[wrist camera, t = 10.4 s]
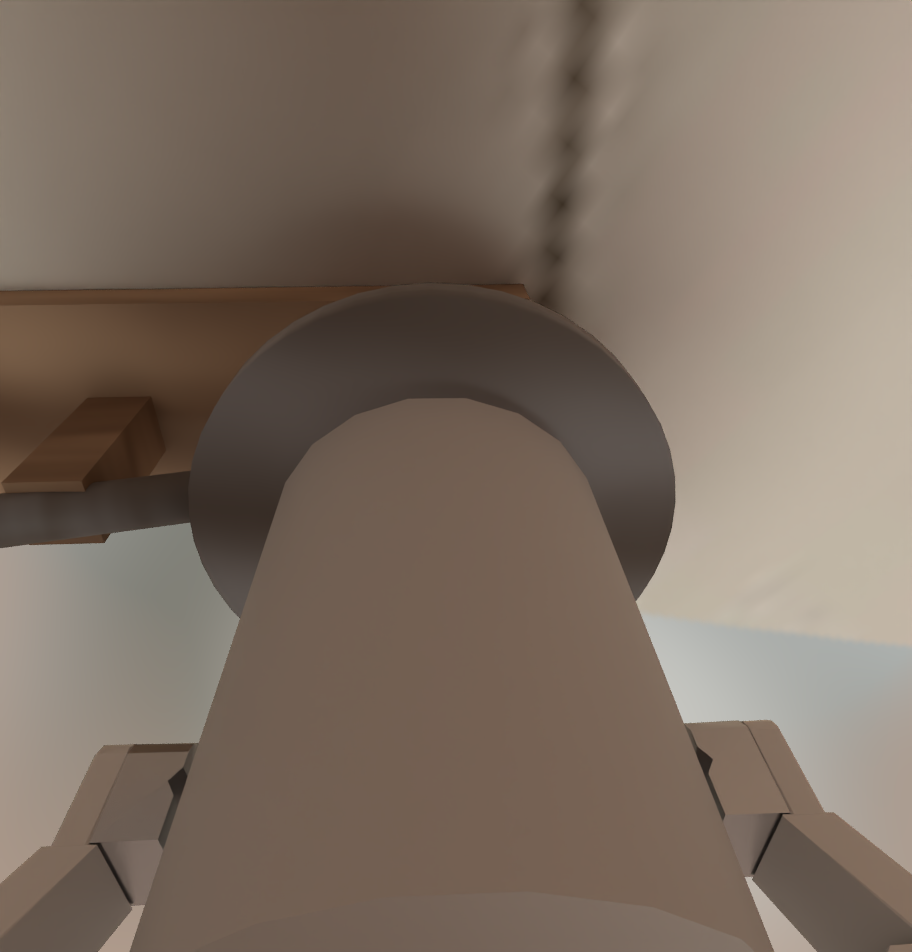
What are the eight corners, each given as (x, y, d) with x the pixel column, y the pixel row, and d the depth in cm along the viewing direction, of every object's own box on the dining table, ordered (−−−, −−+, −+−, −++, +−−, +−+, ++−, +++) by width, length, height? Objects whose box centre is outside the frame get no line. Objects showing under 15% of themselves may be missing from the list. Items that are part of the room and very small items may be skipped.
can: (438, 665, 19) (454, 1365, 9) (219, 522, 16) (-147, 1343, 6) (648, 515, 16) (1024, 1264, 6) (435, 307, 13) (477, 1124, 3)
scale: (-472, 228, 19) (-2205, 543, 6) (624, 217, 20) (953, 466, 7) (-234, 552, 25) (-867, 1020, 13) (583, 530, 26) (724, 940, 14)
